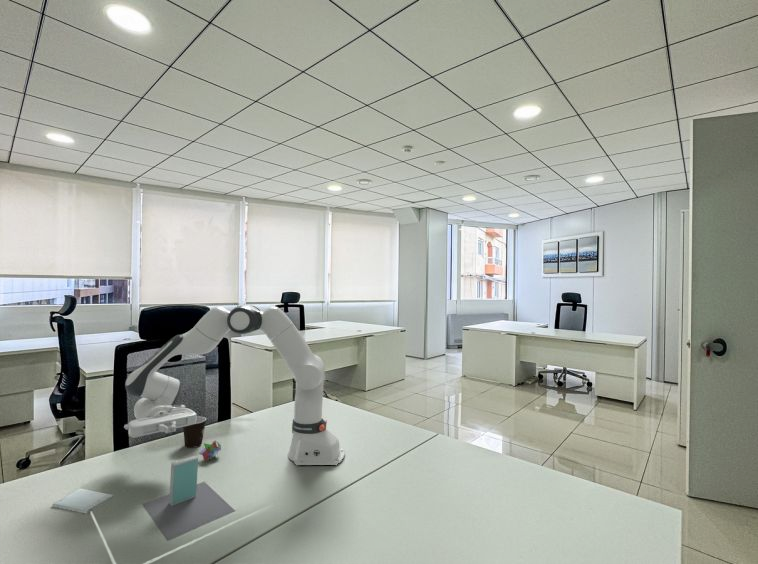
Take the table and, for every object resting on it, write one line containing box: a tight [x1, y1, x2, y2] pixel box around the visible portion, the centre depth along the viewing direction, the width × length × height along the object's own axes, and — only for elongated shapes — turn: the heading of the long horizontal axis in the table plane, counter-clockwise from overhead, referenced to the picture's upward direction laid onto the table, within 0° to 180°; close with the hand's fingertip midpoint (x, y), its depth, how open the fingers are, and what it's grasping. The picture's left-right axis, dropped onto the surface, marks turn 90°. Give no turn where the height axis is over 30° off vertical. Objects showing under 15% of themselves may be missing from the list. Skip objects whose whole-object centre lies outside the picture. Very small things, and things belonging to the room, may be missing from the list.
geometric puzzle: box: [198, 440, 222, 462], centre depth 136 cm, size 7×7×8 cm
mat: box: [141, 481, 236, 541], centre depth 106 cm, size 22×18×1 cm
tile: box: [169, 455, 199, 506], centre depth 110 cm, size 2×7×12 cm, turn 138°
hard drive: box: [51, 488, 114, 515], centre depth 107 cm, size 2×8×12 cm
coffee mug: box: [182, 415, 207, 449], centre depth 150 cm, size 12×9×10 cm
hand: (171, 429), depth 118 cm, fingers closed
